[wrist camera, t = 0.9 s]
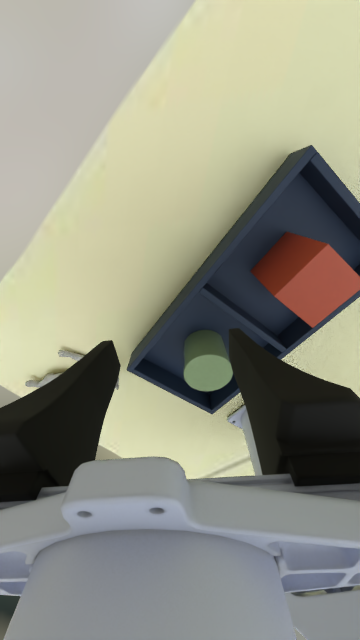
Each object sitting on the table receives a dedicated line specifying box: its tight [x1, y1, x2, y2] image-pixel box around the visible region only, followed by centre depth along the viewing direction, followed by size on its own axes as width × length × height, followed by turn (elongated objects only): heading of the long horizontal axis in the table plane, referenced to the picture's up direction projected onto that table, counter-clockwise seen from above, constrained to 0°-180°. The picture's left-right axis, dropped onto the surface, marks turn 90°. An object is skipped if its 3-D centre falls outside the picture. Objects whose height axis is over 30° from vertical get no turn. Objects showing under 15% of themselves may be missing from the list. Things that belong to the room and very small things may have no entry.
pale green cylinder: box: [183, 330, 233, 391], centre depth 23 cm, size 5×5×4 cm
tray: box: [127, 145, 360, 414], centre depth 21 cm, size 12×24×3 cm, turn 144°
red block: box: [250, 232, 360, 328], centre depth 17 cm, size 4×4×6 cm
